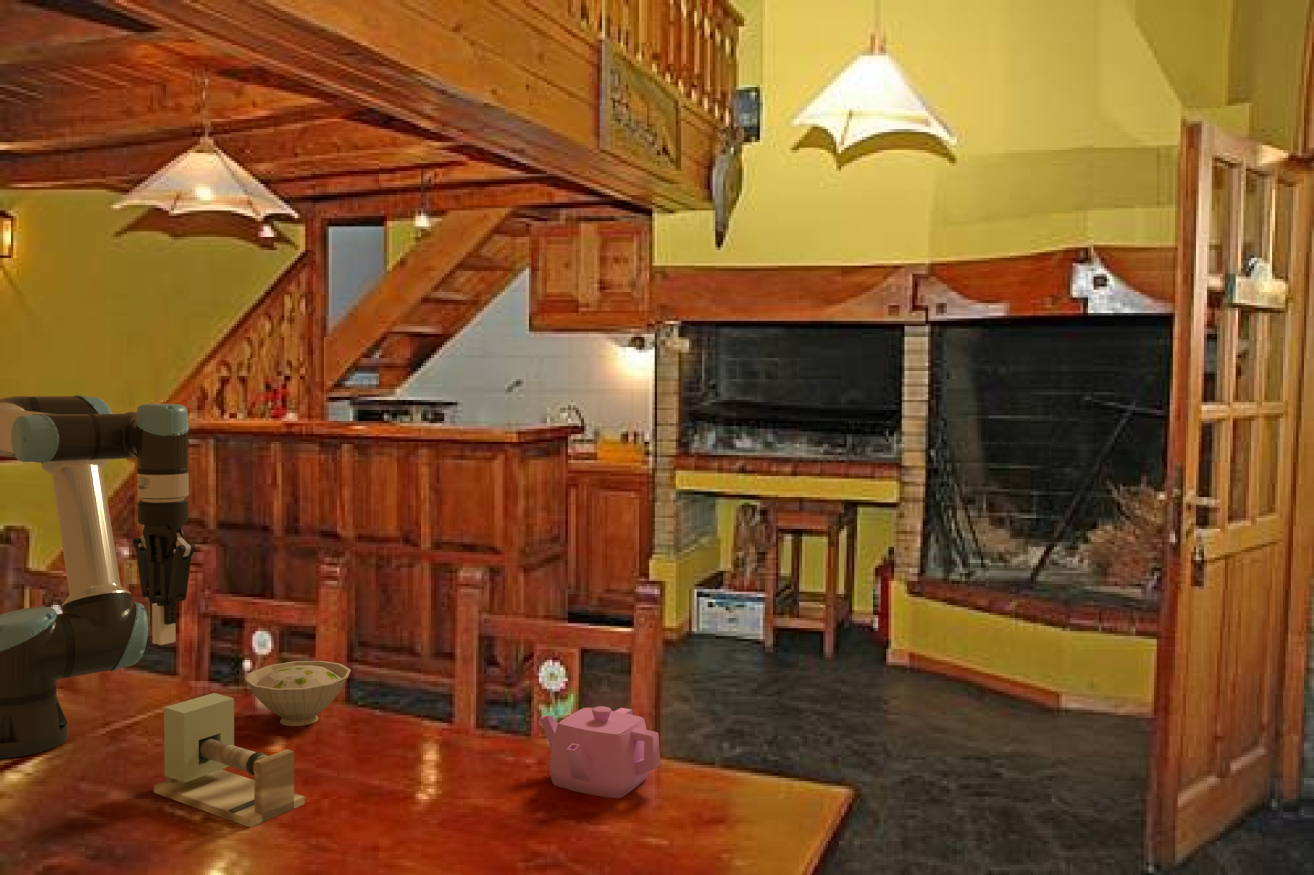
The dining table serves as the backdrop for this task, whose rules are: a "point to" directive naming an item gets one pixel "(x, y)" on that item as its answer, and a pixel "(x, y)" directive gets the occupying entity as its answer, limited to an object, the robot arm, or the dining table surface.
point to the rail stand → (239, 785)
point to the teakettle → (601, 751)
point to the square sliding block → (196, 734)
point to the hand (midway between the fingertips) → (164, 642)
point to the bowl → (298, 688)
